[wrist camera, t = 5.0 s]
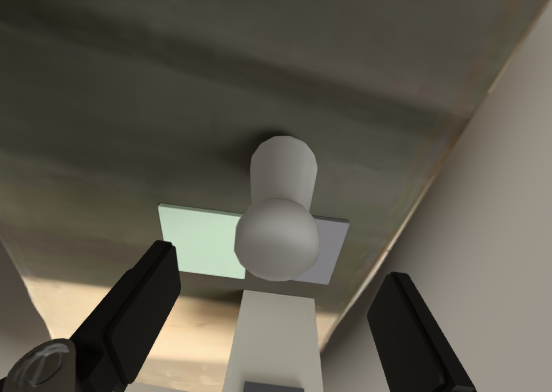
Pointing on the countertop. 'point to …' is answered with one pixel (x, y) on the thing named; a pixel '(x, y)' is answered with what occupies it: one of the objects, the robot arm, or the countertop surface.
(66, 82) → the countertop surface
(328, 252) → the grey pad
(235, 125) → the countertop surface
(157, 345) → the countertop surface
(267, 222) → the salt shaker
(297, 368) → the block
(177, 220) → the green pad
